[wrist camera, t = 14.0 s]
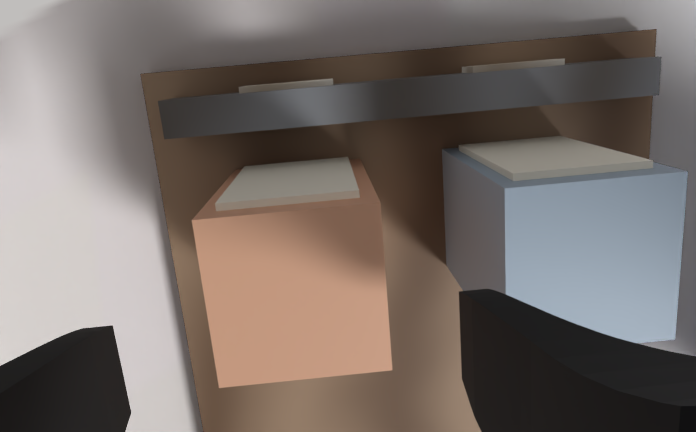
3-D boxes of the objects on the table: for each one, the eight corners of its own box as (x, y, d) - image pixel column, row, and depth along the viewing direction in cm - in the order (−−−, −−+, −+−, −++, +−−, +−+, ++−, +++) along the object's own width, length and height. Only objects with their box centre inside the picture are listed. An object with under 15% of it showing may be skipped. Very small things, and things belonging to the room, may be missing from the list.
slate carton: (561, 254, 21) (675, 339, 14) (446, 265, 21) (506, 356, 14) (564, 132, 20) (689, 163, 13) (441, 143, 20) (504, 180, 13)
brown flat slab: (640, 31, 20) (694, 24, 17) (614, 538, 26) (651, 596, 23) (149, 73, 20) (119, 74, 17) (236, 580, 26) (225, 645, 23)
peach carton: (369, 274, 21) (392, 370, 14) (251, 286, 21) (219, 387, 14) (359, 152, 20) (379, 194, 13) (234, 164, 20) (190, 212, 13)
